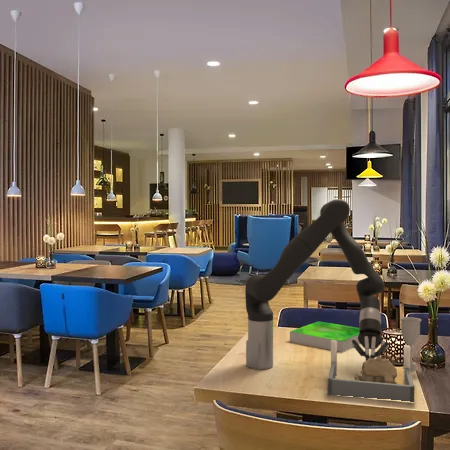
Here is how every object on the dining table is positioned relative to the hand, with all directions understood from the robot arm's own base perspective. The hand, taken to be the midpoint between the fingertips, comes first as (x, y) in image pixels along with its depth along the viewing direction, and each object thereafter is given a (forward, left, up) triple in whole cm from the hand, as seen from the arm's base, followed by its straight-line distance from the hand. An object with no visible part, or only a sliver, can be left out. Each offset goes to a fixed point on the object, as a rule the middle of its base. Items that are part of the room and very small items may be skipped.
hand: (369, 366), depth 169 cm
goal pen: (-8, -5, -4) cm, 10 cm away
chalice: (+20, -5, -4) cm, 21 cm away
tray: (+31, +37, -5) cm, 49 cm away
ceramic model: (-5, -6, -4) cm, 9 cm away
